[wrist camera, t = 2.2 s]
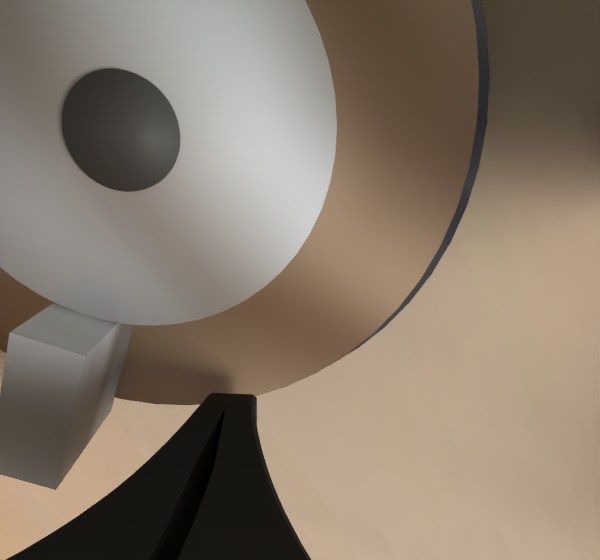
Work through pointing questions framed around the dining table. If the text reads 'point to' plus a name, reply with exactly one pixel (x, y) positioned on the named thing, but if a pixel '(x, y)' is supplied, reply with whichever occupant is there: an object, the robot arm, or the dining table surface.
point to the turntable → (212, 196)
